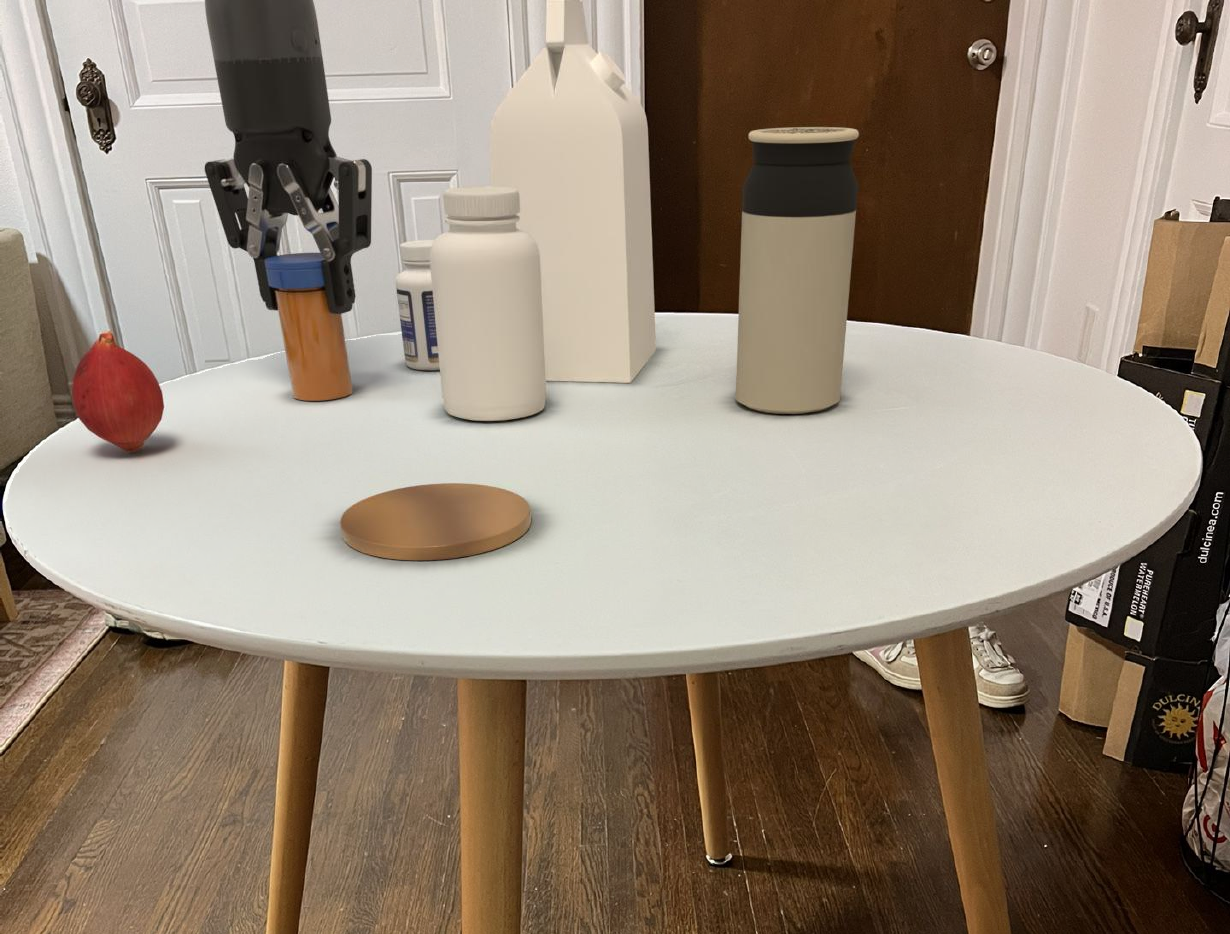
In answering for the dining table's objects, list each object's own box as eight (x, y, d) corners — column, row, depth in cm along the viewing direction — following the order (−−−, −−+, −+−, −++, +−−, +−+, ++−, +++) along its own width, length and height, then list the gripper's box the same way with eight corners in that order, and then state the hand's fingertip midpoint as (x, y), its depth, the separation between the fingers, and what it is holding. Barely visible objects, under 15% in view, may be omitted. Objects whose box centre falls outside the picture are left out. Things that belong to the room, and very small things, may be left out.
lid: (311, 290, 87) (306, 264, 86) (253, 287, 89) (248, 261, 88) (355, 278, 91) (351, 253, 90) (298, 276, 93) (294, 251, 92)
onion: (88, 468, 79) (54, 344, 74) (88, 446, 83) (55, 328, 79) (177, 457, 80) (148, 335, 76) (172, 436, 85) (144, 319, 80)
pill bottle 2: (568, 410, 88) (558, 188, 80) (478, 430, 84) (458, 198, 76) (511, 391, 93) (497, 181, 85) (425, 408, 90) (400, 190, 81)
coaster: (388, 576, 61) (386, 562, 61) (314, 519, 69) (312, 506, 68) (566, 533, 66) (565, 519, 66) (478, 484, 74) (477, 471, 73)
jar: (305, 403, 91) (283, 274, 86) (284, 393, 95) (262, 267, 90) (361, 394, 94) (343, 267, 88) (339, 384, 97) (320, 261, 92)
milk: (533, 348, 107) (513, 5, 92) (655, 350, 105) (654, -1, 90) (496, 379, 97) (467, 1, 83) (630, 382, 95) (624, -5, 80)
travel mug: (845, 415, 85) (870, 132, 75) (737, 416, 86) (748, 135, 76) (833, 388, 92) (854, 125, 82) (733, 389, 92) (742, 128, 82)
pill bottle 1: (475, 358, 104) (464, 238, 98) (454, 372, 99) (442, 247, 94) (418, 356, 105) (405, 237, 99) (396, 370, 100) (381, 247, 95)
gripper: (382, 49, 82) (412, 306, 91) (224, 55, 87) (267, 298, 96) (317, 50, 76) (356, 324, 85) (152, 57, 81) (206, 314, 91)
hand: (309, 309), depth 91 cm, fingers closed on lid, 5 cm apart
